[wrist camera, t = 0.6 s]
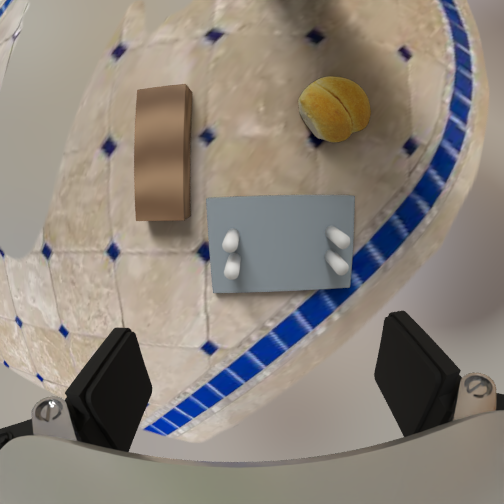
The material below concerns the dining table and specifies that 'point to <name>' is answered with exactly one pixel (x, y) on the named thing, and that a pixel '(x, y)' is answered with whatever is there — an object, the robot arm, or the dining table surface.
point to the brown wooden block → (162, 153)
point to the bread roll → (334, 108)
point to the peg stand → (280, 242)
